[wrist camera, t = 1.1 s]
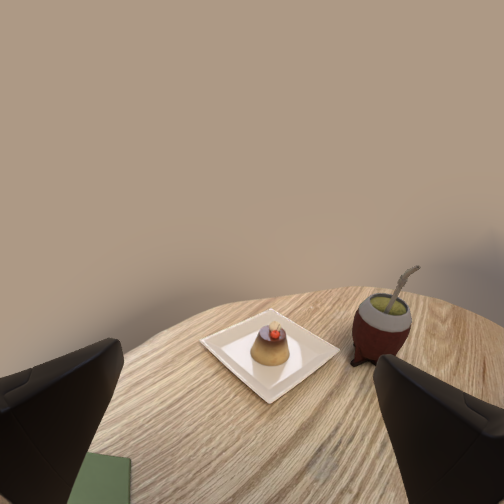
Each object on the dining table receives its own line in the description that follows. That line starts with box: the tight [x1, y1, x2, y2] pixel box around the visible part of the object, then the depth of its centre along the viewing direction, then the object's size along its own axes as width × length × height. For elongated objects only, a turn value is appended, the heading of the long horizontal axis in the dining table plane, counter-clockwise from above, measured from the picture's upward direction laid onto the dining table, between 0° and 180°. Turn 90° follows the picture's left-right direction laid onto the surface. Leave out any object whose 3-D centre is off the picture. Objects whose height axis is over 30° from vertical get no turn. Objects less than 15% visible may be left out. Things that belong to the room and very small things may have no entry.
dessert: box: [199, 308, 340, 404], centre depth 30 cm, size 12×12×5 cm
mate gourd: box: [350, 265, 420, 367], centre depth 27 cm, size 8×8×15 cm
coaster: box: [67, 452, 131, 504], centre depth 12 cm, size 6×6×1 cm
